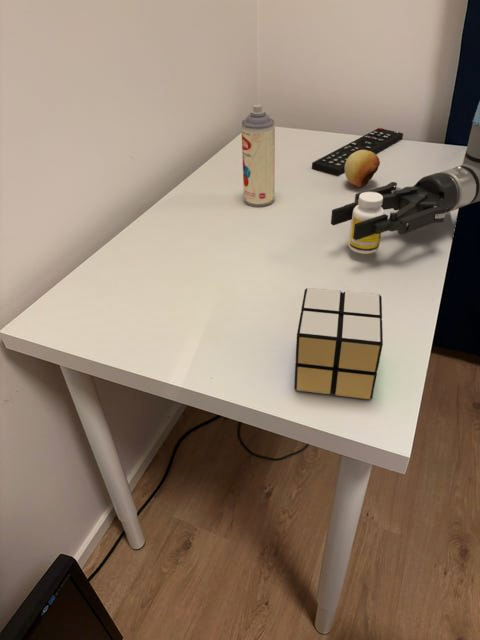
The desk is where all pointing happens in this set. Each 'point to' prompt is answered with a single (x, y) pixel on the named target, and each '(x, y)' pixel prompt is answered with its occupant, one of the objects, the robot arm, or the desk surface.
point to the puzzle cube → (339, 343)
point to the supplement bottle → (364, 211)
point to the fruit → (361, 167)
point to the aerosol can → (258, 158)
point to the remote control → (369, 142)
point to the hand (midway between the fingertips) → (343, 224)
